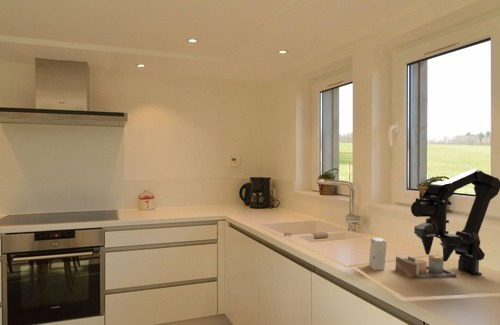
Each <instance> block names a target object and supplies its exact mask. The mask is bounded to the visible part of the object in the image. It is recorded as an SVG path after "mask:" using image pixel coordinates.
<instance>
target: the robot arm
mask: <svg viewBox="0 0 500 325" xmlns="http://www.w3.org/2000/svg"><path fill="white" fill-rule="evenodd" d="M470 184H471V185H473V190H474V194H475V198H474V201H473V204H472V205H471V206H472V207H471V209H470V212H469V214H468V218H467V220H466V222H465V225H464V228H463V229H462V230H461V231H460V230H457V231H456V232H455V234H452V233H451V234H449V230H447V224H450V220H449V219H447V214H448V206H451V205H453V204H452V202H451V201H450V200H449V198H450V197H452V196H453V195H454V194H455V191H456V192H457V190H459V189H462V188H463V187H466V186H468V185H470ZM499 193H500V179H499V177H495V176H492V175H490V174H487V173H485V172H484V171H482V170H480V169H468V170H466V171H465V172H462V173H460V174H458V175H455V176H454V177H451V178H449V179H447V180H442V181H441V180H439V181H434V182H431V183H429V184H428V187H427V188H426V190H425V192H424V193H423V194H422V196H421V197H420V198H419V197H417V198H415V201H414V202H413V203H412V204H411V206H410V211H411V212H410V213H411V214H412V216H414V217H416V218H426V219H425V222H424V223H420V224H417V225H415V226H413V228H414V230H413V231H414V232H413V233H414V234H415V236H416V237H417V238H419V239H420V240H421V243H422V245H423V248H424V252H425V255H427V256H429V255H430V253H431V248H432V245H433V243H434V242H433V241H434V238H437V239H439V240H440V242H439V244H440V245H441V247H442V257H443V261H444V262H447V261H448V260H449V259H450V257H451V255H452V253H453V252H454V253H455V255H459V256H458V258H459V259H458V262H457V270H459V271H462V272H464V273H466V274H469V275H471V276H478V275H483V273H482V272H480V270H479V269H480V267H479V266H480V261H482V260H484V258H485V256H486V254H485V252H484V251H483V250H482V248H481V247H480V246H481V239H480V235H479V234H480V231H481V228H482V224H483V221H484V219H485V216H486V214H487V212H488V208H489V205H490V203H491V200H492V199H494V198H495V197H496V196H498V194H499ZM444 262H443V263H444Z"/></svg>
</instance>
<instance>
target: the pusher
mask: <svg viewBox="0 0 500 325" xmlns="http://www.w3.org/2000/svg"><path fill="white" fill-rule="evenodd" d="M403 259H405V260H407V261H409V262H411V263H414V264H416V267H415V275H419V263H418V262H416V261H415V259H416V258H414V257H412V256H407V257H406V256H405V257H403Z"/></svg>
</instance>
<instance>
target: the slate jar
mask: <svg viewBox="0 0 500 325" xmlns="http://www.w3.org/2000/svg"><path fill="white" fill-rule="evenodd" d="M427 262H428V263H427V264H428V265H427V266H428V272H429V273H431V274H443V269H444V261H443V256H441V255H437V254H435V255H434V254H429V255H428V261H427Z"/></svg>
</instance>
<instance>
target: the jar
mask: <svg viewBox="0 0 500 325" xmlns="http://www.w3.org/2000/svg"><path fill="white" fill-rule="evenodd" d="M415 261H416V262H418V263H419V275H425V274H426V268H427V266H428V265H427V264H428V263H427V262H428V261H425V260H422V259H416V258H415Z"/></svg>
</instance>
